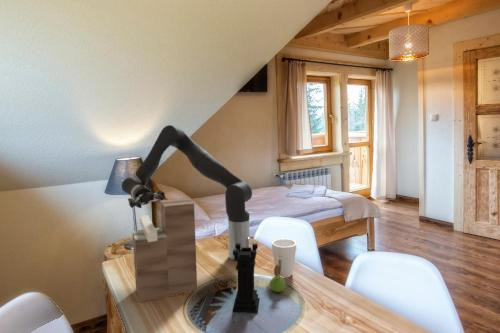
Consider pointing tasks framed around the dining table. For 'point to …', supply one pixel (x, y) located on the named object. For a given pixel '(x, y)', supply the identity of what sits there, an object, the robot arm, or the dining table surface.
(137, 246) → the stepped stand
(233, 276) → the dining table surface
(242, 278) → the chess piece
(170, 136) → the robot arm
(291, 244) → the foam cup
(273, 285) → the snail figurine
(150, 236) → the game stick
